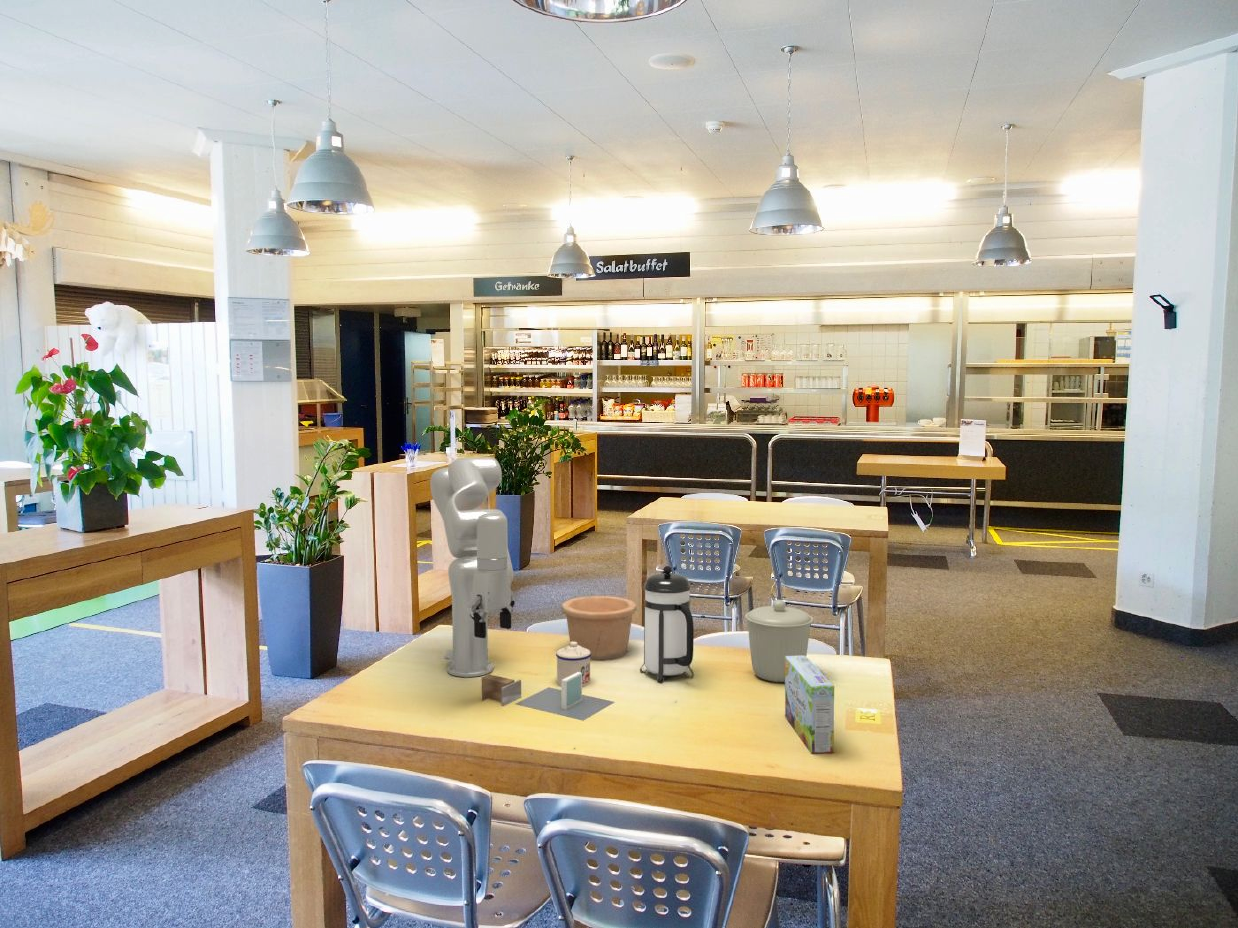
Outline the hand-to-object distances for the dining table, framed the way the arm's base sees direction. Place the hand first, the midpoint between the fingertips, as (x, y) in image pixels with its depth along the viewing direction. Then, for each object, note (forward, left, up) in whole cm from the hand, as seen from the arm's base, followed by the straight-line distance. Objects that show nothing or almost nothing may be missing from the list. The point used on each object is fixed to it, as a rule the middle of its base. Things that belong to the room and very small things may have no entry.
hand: (493, 632), depth 212 cm
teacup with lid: (+10, +21, -18) cm, 29 cm away
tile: (+19, +6, -16) cm, 26 cm away
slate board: (+17, +6, -17) cm, 25 cm away
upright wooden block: (+1, 0, -18) cm, 18 cm away
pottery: (0, +48, -18) cm, 51 cm away
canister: (+53, +55, -18) cm, 79 cm away
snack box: (+73, +21, -18) cm, 78 cm away
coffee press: (+28, +40, -18) cm, 52 cm away
